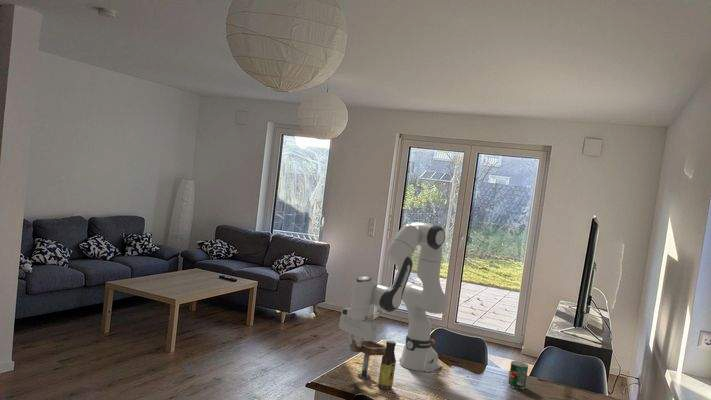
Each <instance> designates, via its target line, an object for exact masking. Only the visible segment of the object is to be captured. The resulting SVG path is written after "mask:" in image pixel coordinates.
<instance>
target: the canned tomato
mask: <svg viewBox="0 0 711 400" xmlns="http://www.w3.org/2000/svg"><path fill="white" fill-rule="evenodd" d="M509 369H510V370H509V375H508V381H507V384H508V383H509V384H510V385H511V386H514V387H518V388H523V387H525V388H526V383H527V376H528V370H529V364H527V363H526V362H524V361H523V362H522V361H518V360H513V361H512V360H511V362H510V368H509Z"/></svg>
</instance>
